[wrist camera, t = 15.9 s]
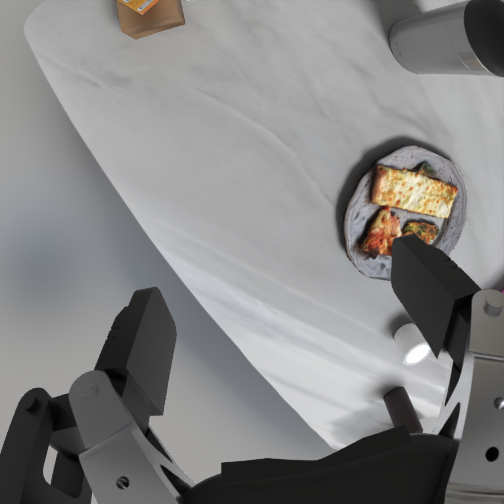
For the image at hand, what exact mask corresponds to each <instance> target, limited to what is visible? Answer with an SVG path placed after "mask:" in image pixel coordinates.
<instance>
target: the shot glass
mask: <svg viewBox="0 0 504 504" xmlns="http://www.w3.org/2000/svg"><path fill="white" fill-rule="evenodd" d="M394 339H395V342H396V344H397V347H398V349H399V352H400V354H401V357H402V359H403V362H404V364H405V365H408V366H410V365H415V364H417V363H419V362H421V361H422V360H424V359H425V358H426V357H427V356H428V355H429V353H430V351H431V348H430V347H429V345H428V343H427V342H426V340H425V339H424V337H423V335H422V334H421V332H420V331H419V329H418V328H417V327H416V325H415V324H413V323H408V324H405V325H403V326H402V327H400V328H399V329H398V330H397V331H396V333H395V335H394Z"/></svg>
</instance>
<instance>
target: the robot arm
mask: <svg viewBox="0 0 504 504" xmlns="http://www.w3.org/2000/svg"><path fill="white" fill-rule="evenodd" d="M389 41H390V47H391V50H392V52H393V54H394V56H395V58H396V59H397V61H398V62H399V63H400V64H401V65H402V66H403V67H404V68H406V69H407V70H409V71H411V72H413V73H416V74H467V75H486V76H498V77H504V3H503V2H502V1H500V0H468V1H463V2H459V3H456V4H452V5H448V6H444V7H441V8H437V9H434V10H430V11H427V12H424V13H421V14H418V15H415V16H411V17H409V18H406V19H403V20H400V21H398V22H396V23H395V24H394V25H393V27H392V28H391V31H390V36H389ZM391 284H392V288H393V290H394V293H395V294H396V296H397V297H398V299H399V300H400V302H401V303H402V305H403V306H404V308H405V309H406V311H407V312H408V314H409V315H410V317H411V318H412V320H413V321H414V323H415V324H416V326H417V327H418V329H419V331H420V332H421V334H422V335H423V337H424V339H425V340H426V342H427V343H428V345H429V347H430V348H431V350H432V351H433V353H434V355H435V356H436V358H437V360H438V359H440V358H443V357H445V356H447V355H450V356H451V358H452V362H451V364H450V369H449V374H448V379H447V384H446V389H445V393H444V398H443V402H442V406H441V410H440V414H439V417H438V419H437V422H436V424H435V426H434V429H433V431H432V434H426V433H413V434H409V432H408V429H407V427H406V424H404V425H401V426H398V427H395V428H392V429H389V430H386V431H383V432H380V433H377V434H374V435H371V436H368V437H364V438H362V439H360V440H358V441H356V442H354V443H353V444H351V445H349V446H347V447H345V448H343V449H341V450H339V451H337V452H335V453H333V454H331V455H329V456H327V457H324V458H323V459H320V460H313V461H311V460H286V459H271V458H265V459H256V460H247V461H236V462H224V463H221V474H218V475H215V476H213V477H210V478H207V479H205V480H203V481H202V482H200V483H198V484H195V483H194V482H193V481H192V480H191V479H190V478H189V477H188V476H187V475H186V474H185V473H184V472H183V470H182V469H181V468H180V467H179V466H178V465H177V463H176V462H175V460H174V459H173V458H172V456H171V455H170V454H169V452H168V451H167V450H166V448H165V447H164V445H163V444H162V442H161V441H160V440H159V438H158V437H157V435H156V434H155V432H154V431H153V429H152V428H151V426H150V425H149V424H148V423H149V417H150V416H157V415H158V416H160V415H163V411H164V405H165V399H166V393H167V387H168V381H169V375H170V370H171V364H172V359H173V353H174V348H175V342H176V336H177V334H176V326H175V323H174V320H173V318H172V316H171V314H170V312H169V310H168V307H167V305H166V303H165V301H164V299H163V296H162V294H161V292H160V290H159V289H158V288H157V287H152V288H146V289H141V290H136V291H135V292H134V294H133V296H132V298H131V301H130V303H129V305H128V306H127V307H124V309H123V310H122V311H121V312H120V313H119V314H118V316H116V318H115V321H114V322H113V325H112V327H111V330H110V332H109V334H108V336H107V338H108V339H107V340H106V341H105V344H104V346H103V349H102V351H101V354H100V356H99V358H98V361H97V363H96V366H95V369H94V371H89V372H86V373H85V374H82V375H81V376H80V377H78V378H77V380H75V381H74V383H73V384H72V386H71V388H70V391H69V393H68V394H64V395H61V396H58V397H54V398H52V397H51V396H50V395H49V394H48V393H47V392H46V391H45V390H44V389H42V388H34V389H32V390H29V391H28V392H27V393H26V394H25V395H24V396H23V397H22V398H21V400H20V402H19V403H18V406H17V408H16V411H15V414H14V416H13V419H12V421H11V424H10V427H9V430H8V432H7V435H6V438H5V441H4V444H3V447H2V450H1V454H0V504H91V497H92V492H93V494H94V496H95V498H96V500H97V502H98V504H504V294H503V293H502V292H499V291H497V290H492V289H485V290H482V289H481V288H480V287H479V286H478V285H477V284H476V283H475V282H474V281H473V280H472V279H471V278H470V277H469V276H468V275H467V274H466V273H465V272H464V271H463V270H462V269H461V268H460V267H458V265H457V264H456V263H455V262H454V261H453V260H452V261H451V258H450V257H449V256H447V255H446V254H445V253H444V252H443V251H442V250H440V249H438V248H436V247H434V246H432V245H430V244H429V245H427V244H426V243H425V242H424V241H423V240H422V239H420V238H419V237H418V236H417V235H416V234H409V235H405V236H400V237H396V238H394V239H393V242H392V262H391ZM49 445H50V446H51V447H52V448H54V449H55V450H56V451H58V453H57V457H56V461H55V466H54V470H53V475H52V480H51V485H50V484H48V483H47V482H46V480H45V478H44V476H43V466H44V462H45V458H46V454H47V450H48V447H49Z"/></svg>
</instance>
